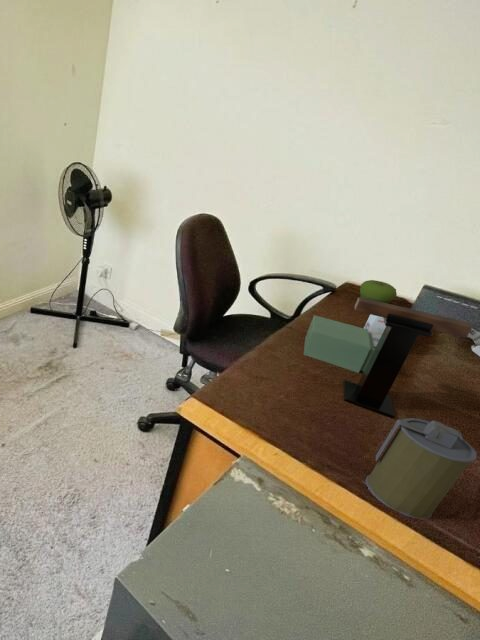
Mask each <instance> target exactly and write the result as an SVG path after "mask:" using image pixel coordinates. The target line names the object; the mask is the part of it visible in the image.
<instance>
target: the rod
mask: <svg viewBox="0 0 480 640" xmlns="http://www.w3.org/2000/svg"><path fill="white" fill-rule="evenodd" d="M354 311H356V312H359V313H364V314H368V315H370V314H371V315H375V316H379V317H383V318H386V317H387V315H388V314H393V315H397V316H401V317H405V318H409V319H413V320H417V321H421V322H425V323H429V324H433V327H432V329H431V331H434V332H439V333H443V334H447V335H452V336H455V337H459V338H462V339H463V338H464V339H467V338H468V337H467V335H468V334H469V332H470V330H471V329H473V327H472V325H471V324H470V322H468V321H463V320H459V319H456V318H451V317H448V316H442V315H438V314H434V313H429V312H425V311H422V310H418V309H413V308H408V307H404V306H400V305H396V304H393V303H392V304H391V303H389V302H388V303H383V302H379V301H375V300H371V299H366V298H362V297H361V296H358V297H357V300H356V302H355V304H354Z"/></svg>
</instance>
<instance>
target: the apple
mask: <svg viewBox="0 0 480 640" xmlns="http://www.w3.org/2000/svg"><path fill="white" fill-rule="evenodd" d="M359 288H360V289H359V295H360V297H362V298H366V299H371V300H375V301H379V302H383V303H388V304H389V303H390V302H391V301H393V300H394V299H395V298H396V296H398V295H397V289H396V288H395V287H394V286H393V285H391V284H390V283H387V282H385V281H380V280H374V279H369V280H365V281H363V282H362V283H361V284H360V287H359Z"/></svg>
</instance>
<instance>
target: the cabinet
mask: <svg viewBox="0 0 480 640" xmlns="http://www.w3.org/2000/svg"><path fill="white" fill-rule="evenodd" d="M303 348H304V349H303V356H307V357H308V358H309V357H310V358H312V359H315V360H319V361H321V362H324V363H328V364H331V365H333V366H336V367H340V368H343V369H345V370H347V371H348V370H349V371H351V372H354V373H358V374H360V372H361V371H360V369H361V367H362V365H363V363H364V361H365V359H366V357H367V355H368V353H369V351H370V348H371V346H370V340H369V333H368V330H367V329H364V327H359V326H355V325H353V324H348V323H344V322H342V321H341V322H340V321H337V320H334V319H329V318H326V317H322V316H318V315H315V314H314V315H313V317H312V320H311V322H310V324H309V327H308V329H307V332H306V334H305V337H304V346H303Z"/></svg>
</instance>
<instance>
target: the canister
mask: <svg viewBox="0 0 480 640" xmlns="http://www.w3.org/2000/svg"><path fill="white" fill-rule="evenodd" d="M395 432H396V433H395ZM394 434H395V435H394ZM383 451H384V452H383ZM380 456H381V457H380ZM477 457H478V454H477V452H476V449H475V448H474V447H473V446H472V445H471V444H470V442H468V441H467V440H465V439H464V438H463V434H462V432H461V431H460V430H458V429H455V428H453V427H450V426H448V425H445V424H443V423H442V422H439V421H437V420H434V419H433V420H431V421H429V420H425V419H421V418H414V417H408V418H404V419H397V420H396V422H395V424H394V425H393V427H392V428H391V430H390V432H389V434H388V435H387V437H386V438H385V440H384V441H383V443H382V445H381V446H380V448H379V450H378V451H377V453H376V455H375V462H376V464H375V467H374V468H373V469H372V471H371V473H370V474H368V475H367V476H366V478H365V479H366V480H365V486H366V485H367V486H366V488H367V487H368V488H367V489H368V491H369V492H370V493H371V495H373V497H375V499H377V500H378V501H379V502H380V503H382V504H383V505H384V506H386V507H387V508H390V509H391V510H393V511H395V512H397V513H399V514H401V515H404V516H406V517H410V518H413V519H418V520H419V519H420V520H426V519H429V518H431V517H432V516H433V512H434V511H435V510H436V509H437V507H438V506H439V504H440V503H441V502H442V500H443V499H445V497H446V495H447V494H448V493H449V491H450V490H451V489H452V488H453V486H454V485H455V484H456V482H457V481H458V480H459V479H460V477H461V475H463V473H464V472H465V470H466V469H467V467H468V466H469V465H470V464H471V463H472V462H475V461H476V460H477ZM377 461H378V462H377Z"/></svg>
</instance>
